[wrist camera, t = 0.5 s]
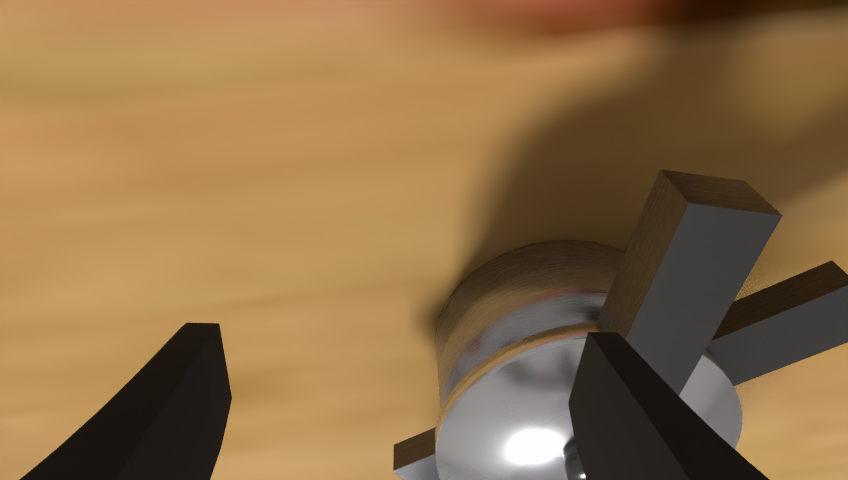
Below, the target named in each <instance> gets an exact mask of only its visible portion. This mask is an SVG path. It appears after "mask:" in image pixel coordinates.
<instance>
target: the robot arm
mask: <svg viewBox="0 0 848 480" xmlns="http://www.w3.org/2000/svg"><path fill="white" fill-rule="evenodd" d="M231 400H232V396H231V390H230V384H229V379H228V373H227V367H226V361H225V355H224V349H223V344H222V338H221V332H220V326H219V324H218V323H186V324H185V325H184V326H182V327H181V328H180V329H179V330H178V331H177V332H176V333H175V334H174V336H173V337H172V338H171V339H170V340H169V341H168V342H167V343H166V344H165V345H164V346H163V347H162V348H161V349H160V350H159V351H158V352H157V353H156V354H155V355H154V356H153V357H152V358H151V360H150V361H149V362H148V363H147V364H146V365H145V366H144V367H143V368H142V369H141V370H140V371H139V372H138V373H137V374H136V375H135V376H134V377H133V378H132V379H131V380H130V381H129V382H128V383H127V384H126V385H125V386H124V387H123V388H122V389H121V390H120V391H119V392H118V393H117V394H116V395H115V396H114V397H113V398H112V399H111V400H110V401H109V402H108V403H106V404H105V405H104V406H103V407H102V408H101V409H100V410H99V411H98V412H97V413H96V414H95V415H94V416H93V417H92V418H90V419H89V420H88V421H87V422H86V423H85V424H84V425H83V426H82V427H81V428H79V429H78V430H77V431H76V432H75V433H74V434H73V435H72V436H71V437H69V438H68V439H67V440H66V441H65V442H64V443H63V444H62V445H61V446H59V447H58V448H57V449H56V450H55V451H54V452H52V453H51V454H50V455H49V456H48V457H47V458H45V459H44V460H43V461H42V462H41V463H39V464H38V465H37V466H36V467H35V468H33V469H32V470H31V471H30V472H28V473H27V474H26V475H25V476H24V477H22V478H21V479H20V480H210V478H211V475H212V472H213V469H214V466H215V464H216V461H217V458H218V455H219V452H220V449H221V445H222V441H223V436H224V432H225V428H226V423H227V419H228V414H229V409H230V404H231ZM568 406H569V411H570V417H571V422H572V427H573V432H574V437H575V442H576V447H577V451H578V455H579V458H580V461H581V464H582V467H583V470H584V473H585V476H586V479H587V480H769V479H768V478H767V477H766V476H764V475H763V474H762V473H761V472H760V471H759V470H757V469H756V468H755V467H754V466H753V465H752V464H750V463H749V462H748V461H747V460H746V459H745V458H744V457H742V456H741V455H740V454H739V453H738V452H737V451H736V450H735V449H734V448H733V447H731V446H730V445H729V444H728V443H727V442H726V441H725V440H724V439H723V438H722V437H720V436H719V435H718V434H717V433H716V432H715V431H714V430H713V429H712V428H711V427H710V426H709V425H708V424H707V423H706V422H705V421H703V420H702V419H701V418H700V417H699V416H698V415H697V414H696V413H695V412H694V411H693V410H692V409H691V408H690V407H689V406H688V405H687V404H686V403H685V402H684V401H683V400H682V399H681V398H680V397H679V396H678V395H677V394H676V393H675V392H674V391H673V390H672V388H671V387H670V386H669V385H668V384H667V383H666V382H665V381H664V380H663V379H662V378H661V377H660V376H659V375H658V374H657V373H656V372H655V371H654V370H653V369H652V368H651V367H650V365H649V364H648V363H647V362H646V361H645V360H644V359H643V358H642V357H641V356H640V355H639V354H638V353H637V352H636V351H635V350H634V349H633V347H632V346H631V345H630V344H629V343H628V342H627V341H626V340H625V339H624V338H623V337H622V336H621V335H620V334H619V333H611V332H588V334H587V338H586V341H585V345H584V348H583V352H582V355H581V359H580V362H579V366H578V369H577V373H576V377H575V380H574V384H573V387H572V391H571V394H570V398H569V401H568Z"/></svg>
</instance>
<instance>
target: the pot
mask: <svg viewBox="0 0 848 480" xmlns="http://www.w3.org/2000/svg"><path fill="white" fill-rule="evenodd" d="M624 255H625V253H624V252H622V251H619V250H617V249H614V248H612V247H609V246H605V245H601V244H598V243H592V242H585V241H567V240H563V241H551V242H544V243H539V244H533V245H529V246H526V247H522V248H519V249H516V250H513V251H511V252H508V253H506V254H504V255H501V256H499V257H497V258H495V259H494V260H492V261H490V262H488V263H486V264H485V265H483V266H482V267H481V268H479V269H478V270H476V271H475V272H474V273H472V274H471V275H470V276H469V277H468V278H467V279H466V280H465V281H463V282H462V283H461V284H460V286H459V287H458V288H457V289H456V290H455V291H454V293H453V294H452V295H451V297H450V298H449V300H448V302H447V303H446V305H445V307H444V309H443V311H442V313H441V316H440V318H439V322H438V326H437V331H436V352H437V365H438V378H439V392H440V405H441V408H442V406H443V404H444V403H445V401H446V399H447V397H448V396H449V394H450V393H451V391H452V390H453V389H454V388H455V386H456V385H457V384H458V383H459V381H460V380H461V379H462V378H463V377H464V376H465V375H467V374H468V373H469V372H470V371H471V370H472V369H473V368H474V367H475V366H477V365H478V364H479V363H481V362H482V361H483V360H485V359H486V358H487V357H489V356H491V355H492V354H494V353H496V352H497V351H499V350H501V349H502V348H504V347H506V346H508V345H510V344H512V343H514V342H517V341H519V340H521V339H523V338H526V337H528V336H531V335H534V334H537V333H540V332H543V331H546V330H550V329H554V328H558V327H562V326H566V325H572V324H579V323H586V322H596V321H597V319H598V316H599V314H600V312H601V309H602V307H603V305H604V302H605V300H606V297H607V295H608V293H609V290H610V288H611V286H612V283H613V281H614V278H615V276H616V274H617V271H618V269H619V267H620V264H621V262H622V259H623V257H624ZM847 342H848V275H847V274H846V273H845V272H844V271H843V270H842V269H841V268H840V267H839V266H838V265H836V264H835V263H834V262H833V261H829V262H827V263H825V264H822V265H820V266H817V267H815V268H813V269H810V270H808V271H806V272H803V273H801V274H798V275H796V276H794V277H791V278H789V279H787V280H784V281H782V282H779V283H777V284H775V285H772V286H770V287H768V288H765V289H763V290H760V291H758V292H756V293H753V294H751V295H749V296H746V297H744V298H741V299H739V300H737V301H734V302H733V303H732V304H731V306H730V308H729V310H728V311H727V313H726V315H725V317H724V318H723V320H722V322H721V324H720V325H719V327H718V329H717V331H716V332H715V334H714V336H713V337H712V339H711V341H710V343H709V344H708V346H707V348H706V351H707V352H708V353H709V354H710V355H712V356H713V357H714V359H715V360H716V361H717V363H718V364H719V365H720V367H721V368H722V369H723V371H724V372H725V374H726V376H727V377H728V379H729V380H730V382H731V383H732V385H733V386H735V385H738V384H740V383H743V382H746V381H748V380H751V379H753V378H756V377H759V376H761V375H764V374H766V373H769V372H772V371H774V370H777V369H779V368H782V367H785V366H787V365H790V364H792V363H795V362H798V361H800V360H803V359H805V358H808V357H811V356H813V355H816V354H818V353H821V352H824V351H826V350H829V349H831V348H834V347H837V346H839V345H842V344H844V343H847ZM435 429H436V427H435V428H433V429H430V430H428V431H426V432H423V433H421V434H419V435H416V436H414V437H411V438H409V439H407V440H404V441H402V442H400V443H397V444H395V445H394V472H395V473H396V474H397V475H398V476H399V477H400V478H401V479H403V480H440V478H439V474H438V470H437V466H436V452H435Z"/></svg>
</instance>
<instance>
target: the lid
mask: <svg viewBox="0 0 848 480" xmlns="http://www.w3.org/2000/svg"><path fill="white" fill-rule="evenodd" d="M781 217H782V215H781V214H780V213H779V212H778V211H777V210H776V209H775V208H773V207H772V206H771V205H770V204H769V203H768V202H767V201H766V200H765V199H764V198H763V197H761V196H760V195H759V194H758V193H757V192H756V191H755V190H754V189H753V188H752V187H750V186H749V185H748V184H747V183H746V182H745V181H739V180H732V179H724V178H717V177H710V176H703V175H696V174H689V173H681V172H674V171H667V170H660V171H659V174H658V176H657V179H656V181H655V183H654V186H653V188H652V190H651V193H650V195H649V198H648V200H647V202H646V205H645V207H644V209H643V212H642V214H641V217H640V219H639V221H638V224H637V226H636V228H635V231H634V233H633V236H632V238H631V240H630V243H629V245H628V248H627V250H626V252H625V255H624V257H623V259H622V262H621V264H620V267H619V269H618V271H617V274H616V276H615V278H614V281H613V283H612V286H611V288H610V290H609V293H608V295H607V297H606V300H605V302H604V305H603V307H602V309H601V312H600V314H599V316H598V319H597V321H596V322H586V323H579V324H572V325H566V326H562V327H558V328H554V329H550V330H546V331H543V332H540V333H537V334H534V335H531V336H528V337H526V338H523V339H521V340H519V341H517V342H514V343H512V344H510V345H508V346H506V347H504V348H502V349H501V350H499V351H497V352H496V353H494V354H492V355H491V356H489V357H487V358H486V359H485V360H483V361H482V362H481V363H479V364H478V365H477V366H475V367H474V368H473V369H472V370H471V371H470V372H469V373H468V374H467V375H465V376H464V377H463V378H462V379H461V380H460V381H459V383H458V384H457V385H456V386H455V388H454V389H453V390H452V391H451V393H450V394H449V396H448V397H447V399H446V401H445V403H444V404H443V406H442V408H441V411H440V414H439V416H438V419H437V423H436V429H435V452H436V466H437V470H438V474H439V478H440V480H587V479H586V476H585V473H584V470H583V467H582V464H581V461H580V458H579V455H578V451H577V447H576V442H575V437H574V432H573V427H572V422H571V417H570V411H569V406H568V401H569V398H570V394H571V391H572V387H573V384H574V380H575V377H576V373H577V369H578V366H579V362H580V359H581V355H582V352H583V348H584V345H585V341H586V338H587V334H588V332H611V333H619V334H620V335H621V336H622V337H623V338H624V339H625V340H626V341H627V342H628V343H629V344H630V345H631V346H632V347H633V349H634V350H635V351H636V352H637V353H638V354H639V355H640V356H641V357H642V358H643V359H644V360H645V361H646V362H647V363H648V364H649V365H650V367H651V368H652V369H653V370H654V371H655V372H656V373H657V374H658V375H659V376H660V377H661V378H662V379H663V380H664V381H665V382H666V383H667V384H668V385H669V386H670V387H671V388H672V390H673V391H674V392H675V393H676V394H677V395H678V396H679V397H680V398H681V399H682V400H683V401H684V402H685V403H686V404H687V405H688V406H689V407H690V408H691V409H692V410H693V411H694V412H695V413H696V414H697V415H698V416H699V417H700V418H701V419H702V420H703V421H705V422H706V423H707V424H708V425H709V426H710V427H711V428H712V429H713V430H714V431H715V432H716V433H717V434H718V435H719V436H720V437H722V438H723V439H724V440H725V441H726V442H727V443H728V444H729V445H730V446H731V447H733V448H734V449H735V448H736V445H737V443H738V440H739V438H740V433H741V428H742V409H741V404H740V400H739V397H738V395H737V393H736V391H735V389H734V387H733V385H732V383H731V382H730V380H729V379H728V377H727V376H726V374H725V372H724V371H723V369H722V368H721V367H720V365H719V364H718V363H717V361H716V360H715V359H714V357H713V356H712V355H710V354H709V353H708V352H707V351H706V348H707V346H708V344H709V343H710V341H711V339H712V337H713V336H714V334H715V332H716V331H717V329H718V327H719V325H720V324H721V322H722V320H723V318H724V317H725V315H726V313H727V311H728V310H729V308H730V306H731V304H732V303H733V301H734V299H735V297H736V296H737V294H738V292H739V290H740V289H741V287H742V285H743V283H744V282H745V280H746V278H747V276H748V275H749V273H750V271H751V269H752V268H753V266H754V264H755V262H756V261H757V259H758V257H759V255H760V254H761V252H762V250H763V248H764V247H765V245H766V243H767V241H768V240H769V238H770V236H771V234H772V233H773V231H774V229H775V227H776V226H777V224H778V222H779V220H780V219H781Z"/></svg>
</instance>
